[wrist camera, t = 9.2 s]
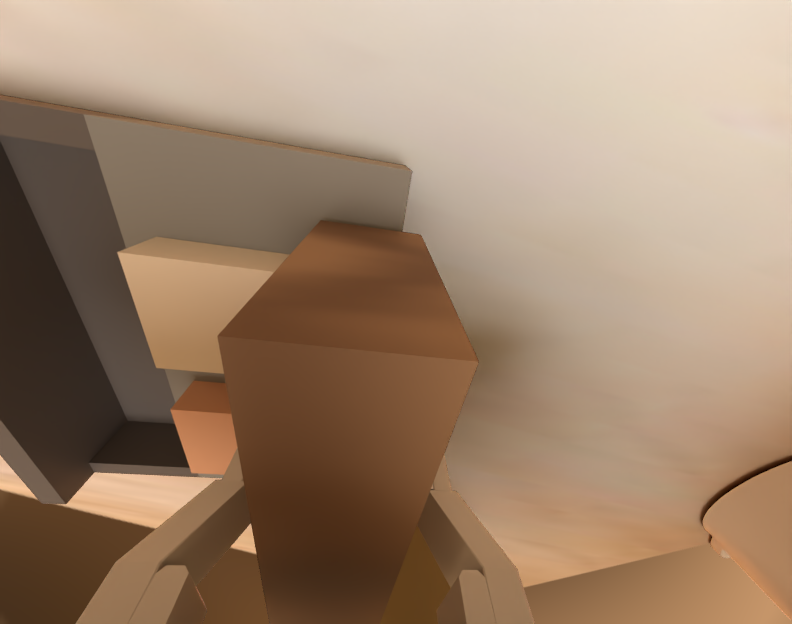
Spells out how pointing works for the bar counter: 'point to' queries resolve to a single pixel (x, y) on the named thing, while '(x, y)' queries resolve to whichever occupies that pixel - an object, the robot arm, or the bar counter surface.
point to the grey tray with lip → (105, 280)
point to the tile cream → (192, 296)
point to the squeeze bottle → (417, 587)
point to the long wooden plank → (343, 415)
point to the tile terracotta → (205, 427)
